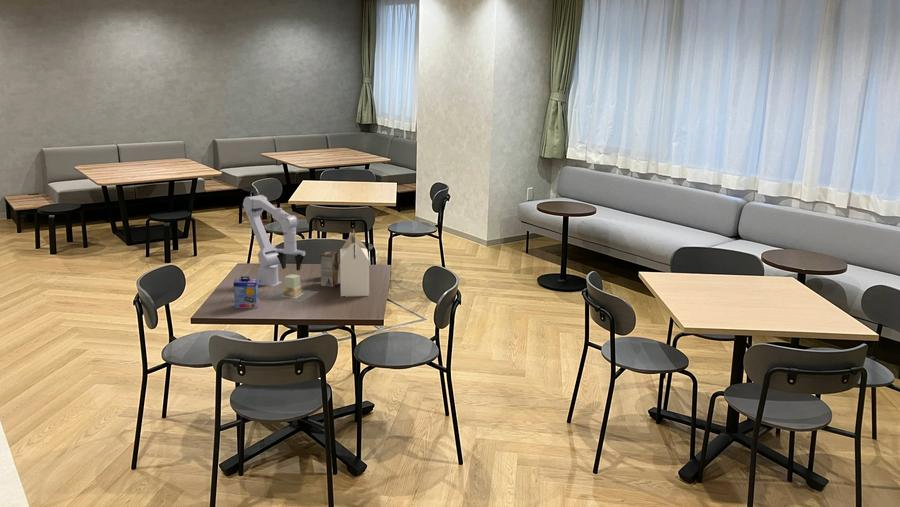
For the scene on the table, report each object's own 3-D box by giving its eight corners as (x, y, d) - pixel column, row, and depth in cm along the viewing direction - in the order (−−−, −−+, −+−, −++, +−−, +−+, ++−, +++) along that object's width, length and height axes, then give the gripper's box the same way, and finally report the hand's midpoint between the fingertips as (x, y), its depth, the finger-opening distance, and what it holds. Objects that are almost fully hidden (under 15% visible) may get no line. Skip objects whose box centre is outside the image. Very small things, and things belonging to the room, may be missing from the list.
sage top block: (284, 287, 344) (284, 276, 343) (291, 284, 348) (290, 274, 347) (294, 288, 342) (293, 278, 341) (300, 285, 346) (299, 275, 345)
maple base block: (283, 295, 344) (283, 287, 343) (289, 292, 350) (289, 284, 349) (295, 297, 342) (294, 289, 341) (301, 293, 348) (301, 285, 347)
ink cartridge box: (234, 308, 327) (232, 277, 323) (236, 304, 332) (235, 273, 328) (257, 308, 328) (255, 277, 324) (259, 304, 333) (257, 273, 329)
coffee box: (327, 281, 370) (326, 250, 366) (339, 282, 369) (339, 251, 365) (320, 286, 361) (320, 254, 357) (333, 287, 360) (332, 255, 356)
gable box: (340, 283, 368) (339, 228, 361) (367, 282, 370) (367, 227, 363) (340, 296, 347) (339, 238, 340) (369, 296, 349) (368, 238, 342)
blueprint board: (265, 299, 340) (265, 297, 340) (285, 288, 357) (285, 287, 357) (300, 304, 335) (300, 302, 335) (318, 292, 352) (318, 291, 352)
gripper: (308, 240, 351) (309, 268, 354) (280, 238, 355) (281, 265, 358) (300, 243, 344) (301, 272, 347) (273, 241, 348) (274, 269, 351)
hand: (291, 269), depth 352 cm, fingers open, 7 cm apart
